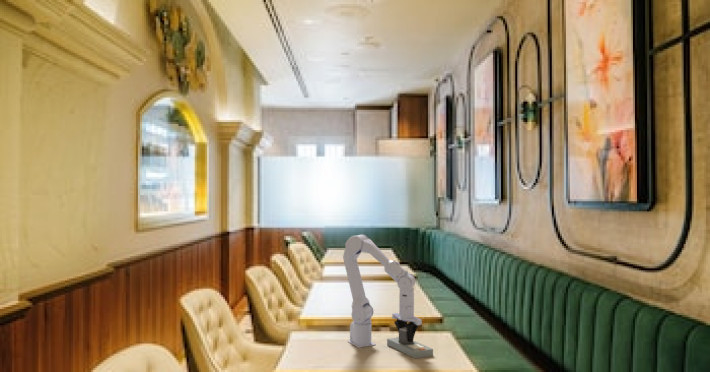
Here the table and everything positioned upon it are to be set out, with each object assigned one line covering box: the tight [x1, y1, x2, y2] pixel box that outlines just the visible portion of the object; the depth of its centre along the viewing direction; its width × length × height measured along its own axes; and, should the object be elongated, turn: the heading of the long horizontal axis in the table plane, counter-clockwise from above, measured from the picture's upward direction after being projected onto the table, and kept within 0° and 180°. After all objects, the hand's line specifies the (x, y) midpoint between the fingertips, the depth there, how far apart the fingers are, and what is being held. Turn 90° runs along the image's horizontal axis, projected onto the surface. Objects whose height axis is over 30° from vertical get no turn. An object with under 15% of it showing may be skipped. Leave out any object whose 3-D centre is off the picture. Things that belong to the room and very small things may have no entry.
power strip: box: [386, 336, 434, 360], centre depth 206 cm, size 20×8×3 cm, turn 28°
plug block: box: [398, 327, 414, 345], centre depth 208 cm, size 4×4×6 cm
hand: (406, 340), depth 208 cm, fingers closed on plug block, 4 cm apart
